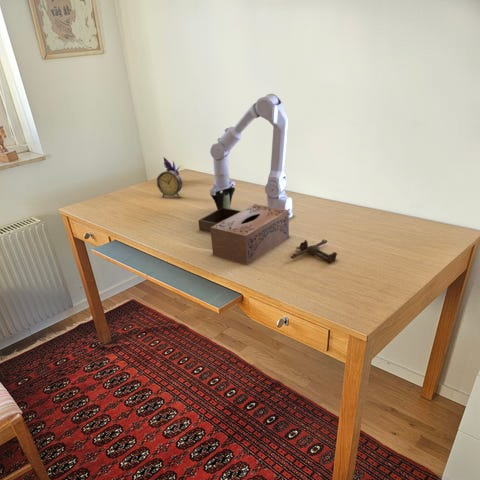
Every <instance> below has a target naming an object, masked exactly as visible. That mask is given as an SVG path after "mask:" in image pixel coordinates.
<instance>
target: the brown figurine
mask: <svg viewBox="0 0 480 480" xmlns="http://www.w3.org/2000/svg"><path fill="white" fill-rule="evenodd" d="M327 243H328V240H327V239H324V238H323V239H321V241H320V242H319V243H316V244H313V245H309V243H308V240H306V239H305V240H304V241H303V242H300V244H299V246H296V247H295V249H296V250H299V252H297V253H292V255H291V256H290V259H292V260H293V259H294V260H295V259H296V258H298V257H299V256H301V255H304V254H309V255H311V256H316V257H317V258H320V259H322V260H323V261H325V262H327V263H329V264H330V263H332V262H335V261H336V259H337V255H338V253H337V252H336V251H333V252H332V253H330V254H328V253H327V252H325V251H322V250H320V249H319V247H321V246H322V245H325V244H327Z"/></svg>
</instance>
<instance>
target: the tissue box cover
mask: <svg viewBox="0 0 480 480" xmlns="http://www.w3.org/2000/svg"><path fill="white" fill-rule="evenodd" d="M240 211H241V212H239V213H237V214H235V215H233V216H231V217H229V218H227V219H225V220H223V221H222V222H220V223H218V224H216V225H214V226H212V227H210V229H211V233H210V239H211V250H212V256H214V257H218V258H222V259H225V260H229V261H232V262H235V263H238V264H239V263H240V264H243V265H245V266H246V265H249V264H251V263H252V262H254V261H255V260H257V259H258V258H260V257H261V256H263V255H265V254H266V253H268V252H269V251H270V250H272V249H274V248H275V247H277V246H278V245H279V244H281V243H282V242H284V241H285V240H287V239H289V237H290V218H289V210H284V209H278V208H273V207H268V206H267V205H262V204H257V203H255V204H253V205H250V206H248V207H247V208H245V209H243V210H240Z"/></svg>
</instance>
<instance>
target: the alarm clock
mask: <svg viewBox="0 0 480 480" xmlns="http://www.w3.org/2000/svg"><path fill="white" fill-rule="evenodd" d="M165 162H169V163H170V167H171V166H172V164H171V162H170V161H169V160H168V161H165ZM165 162H164V161H163V166H164V168H165V169H167V170H164V171H162V172H163V173H162V172H160V173H159V174H160V175H159V174H158V175H157V178H158V179H157V178H156V186H157V188H158V190H159V192H160V193H161V194H162V196H161V197H162V198H164V197H165V196H166V197H174V196H177V197H178V198H181V196H180V194H179V193H180V192H181V190H182V188H183V180H182V177H181V176H180V174H179V175H178V174H177V173H176V172H174V171H172V170H169V168H170V167H169V168H168V167H167V168H166V166H165Z"/></svg>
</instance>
